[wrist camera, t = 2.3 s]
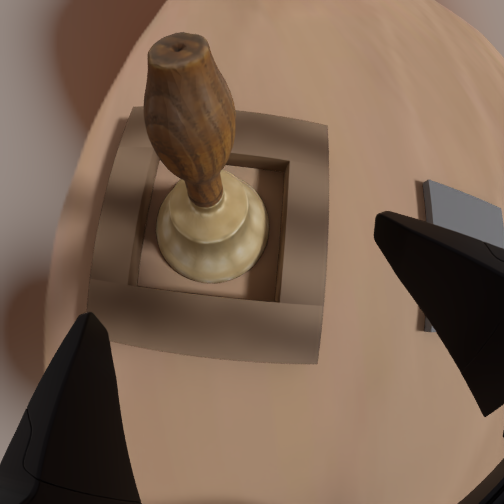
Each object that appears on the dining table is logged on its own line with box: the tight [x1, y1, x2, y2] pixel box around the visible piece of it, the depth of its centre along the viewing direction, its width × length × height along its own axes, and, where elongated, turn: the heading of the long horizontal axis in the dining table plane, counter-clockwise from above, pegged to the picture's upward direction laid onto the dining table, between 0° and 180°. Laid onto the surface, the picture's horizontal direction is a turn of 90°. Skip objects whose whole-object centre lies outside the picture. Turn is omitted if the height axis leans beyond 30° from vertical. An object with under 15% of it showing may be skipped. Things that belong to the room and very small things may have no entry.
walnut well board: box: [87, 107, 329, 364], centre depth 19 cm, size 18×16×2 cm
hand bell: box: [144, 32, 269, 283], centre depth 12 cm, size 8×8×16 cm
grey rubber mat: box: [423, 180, 504, 332], centre depth 21 cm, size 14×14×1 cm
